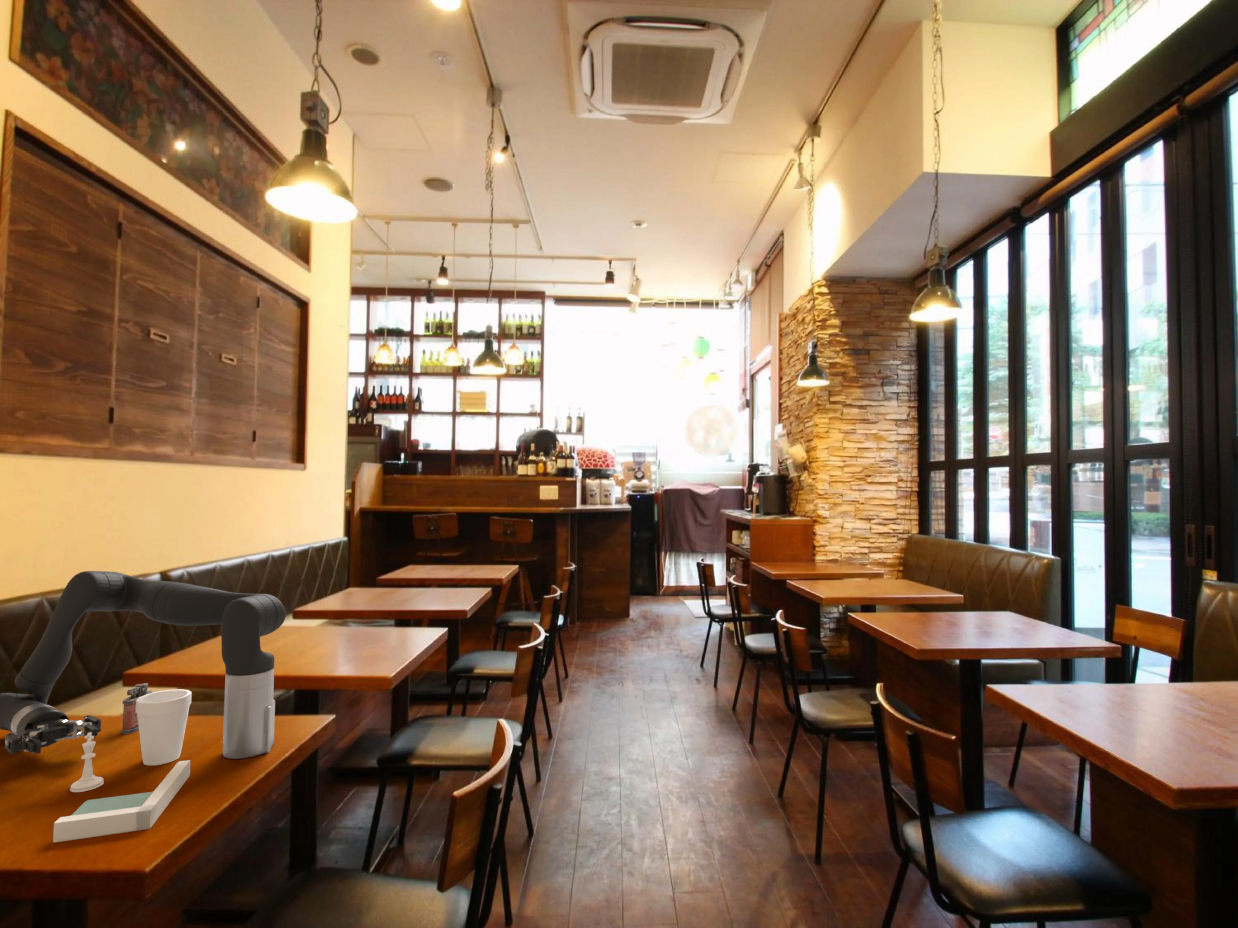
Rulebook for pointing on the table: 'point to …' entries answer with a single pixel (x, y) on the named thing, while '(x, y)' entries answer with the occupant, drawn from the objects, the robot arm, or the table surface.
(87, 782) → the chess piece
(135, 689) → the lighter
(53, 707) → the robot arm
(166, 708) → the foam cup
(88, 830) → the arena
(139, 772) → the table surface
